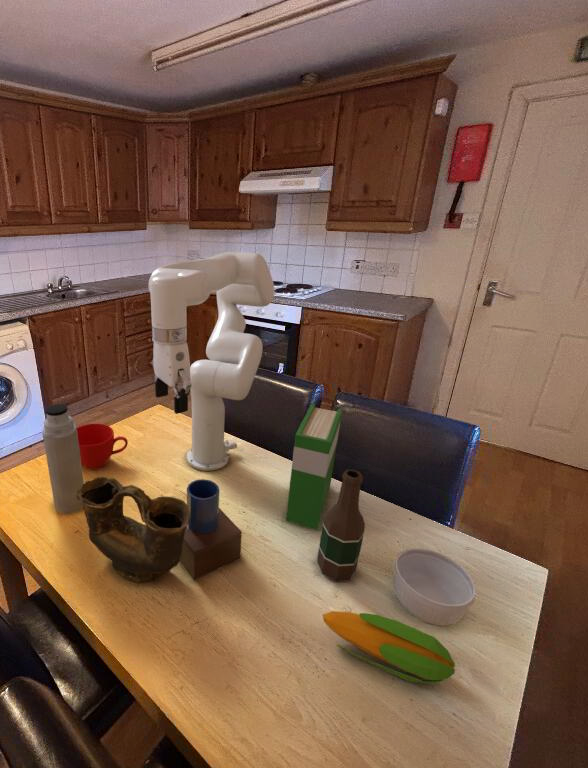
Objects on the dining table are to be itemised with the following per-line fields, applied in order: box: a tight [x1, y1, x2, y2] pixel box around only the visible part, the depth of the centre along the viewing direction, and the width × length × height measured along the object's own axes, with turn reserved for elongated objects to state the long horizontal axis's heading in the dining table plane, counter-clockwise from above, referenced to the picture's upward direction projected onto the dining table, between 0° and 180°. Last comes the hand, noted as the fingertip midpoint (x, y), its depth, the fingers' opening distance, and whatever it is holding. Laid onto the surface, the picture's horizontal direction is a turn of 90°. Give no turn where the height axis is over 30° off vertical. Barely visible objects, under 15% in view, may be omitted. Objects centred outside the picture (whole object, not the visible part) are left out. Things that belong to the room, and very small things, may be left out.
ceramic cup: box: [77, 423, 129, 470], centre depth 123 cm, size 13×17×10 cm
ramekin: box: [393, 547, 477, 626], centre depth 79 cm, size 13×13×7 cm
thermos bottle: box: [41, 403, 85, 515], centre depth 102 cm, size 8×8×28 cm
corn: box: [322, 610, 456, 685], centre depth 69 cm, size 7×8×20 cm
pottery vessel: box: [77, 476, 191, 584], centre depth 86 cm, size 25×11×20 cm, turn 64°
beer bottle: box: [316, 469, 366, 582], centre depth 83 cm, size 8×8×24 cm
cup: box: [186, 478, 220, 534], centre depth 88 cm, size 7×7×9 cm
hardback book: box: [285, 403, 343, 531], centre depth 102 cm, size 18×7×24 cm, turn 152°
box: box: [180, 535, 243, 581], centre depth 92 cm, size 13×12×7 cm
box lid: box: [184, 507, 243, 555], centre depth 90 cm, size 13×12×1 cm
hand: (171, 403), depth 97 cm, fingers open, 9 cm apart
